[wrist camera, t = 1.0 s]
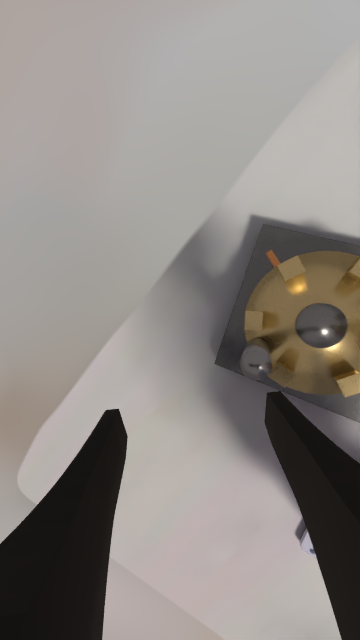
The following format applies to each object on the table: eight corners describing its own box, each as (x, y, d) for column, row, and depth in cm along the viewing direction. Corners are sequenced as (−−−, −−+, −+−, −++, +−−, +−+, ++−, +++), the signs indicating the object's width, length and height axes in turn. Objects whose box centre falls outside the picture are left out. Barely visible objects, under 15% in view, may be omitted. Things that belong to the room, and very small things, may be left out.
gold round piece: (354, 227, 17) (397, 194, 12) (425, 357, 17) (505, 388, 11) (220, 296, 21) (204, 295, 15) (274, 406, 20) (279, 448, 14)
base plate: (432, 268, 17) (449, 266, 16) (359, 416, 20) (368, 426, 18) (263, 229, 21) (263, 223, 19) (217, 359, 23) (214, 364, 21)
